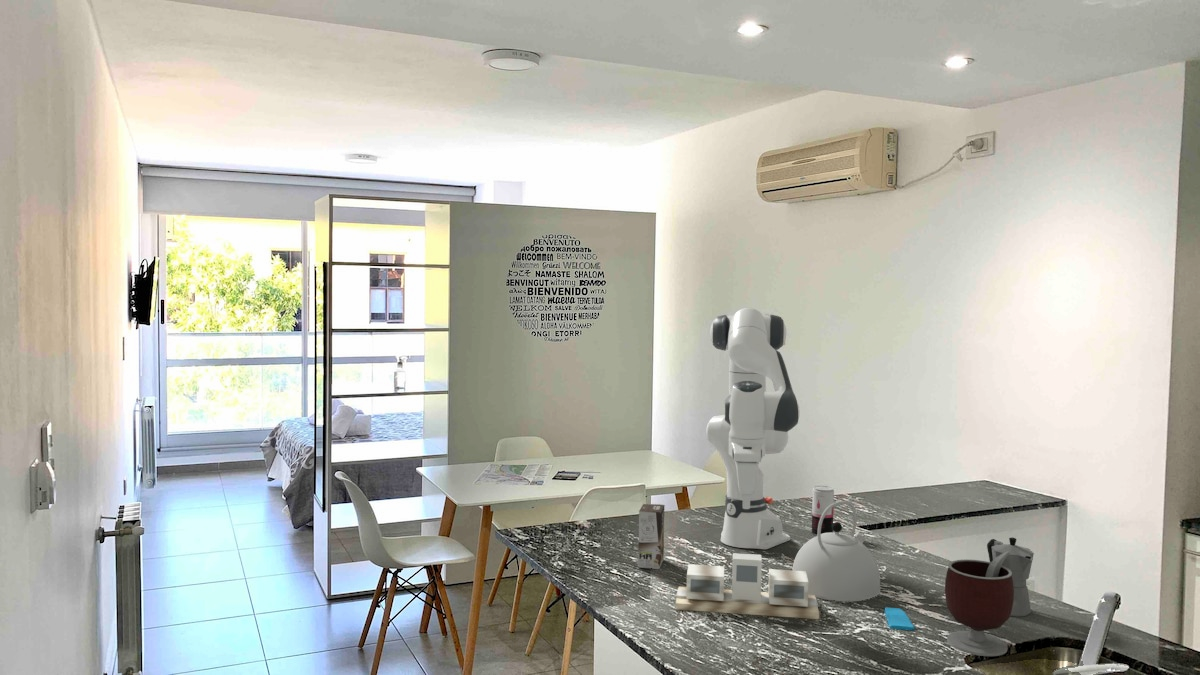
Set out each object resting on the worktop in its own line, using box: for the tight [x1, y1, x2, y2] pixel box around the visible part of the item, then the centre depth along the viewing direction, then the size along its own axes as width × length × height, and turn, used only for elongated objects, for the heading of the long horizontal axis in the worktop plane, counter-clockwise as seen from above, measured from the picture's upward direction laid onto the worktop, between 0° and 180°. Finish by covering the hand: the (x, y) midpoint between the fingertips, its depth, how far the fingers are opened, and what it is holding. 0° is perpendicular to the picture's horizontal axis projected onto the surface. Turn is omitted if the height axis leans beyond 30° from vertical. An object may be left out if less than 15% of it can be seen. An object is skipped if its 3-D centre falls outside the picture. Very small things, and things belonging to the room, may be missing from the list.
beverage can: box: [811, 485, 835, 537], centre depth 275 cm, size 6×7×15 cm
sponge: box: [883, 606, 916, 631], centre depth 205 cm, size 2×12×6 cm
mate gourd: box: [944, 551, 1014, 657], centre depth 191 cm, size 16×14×20 cm
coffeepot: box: [986, 537, 1035, 618], centre depth 213 cm, size 15×9×18 cm, turn 13°
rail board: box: [674, 563, 820, 620], centre depth 213 cm, size 34×12×8 cm, turn 81°
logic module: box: [731, 552, 763, 601], centre depth 213 cm, size 5×7×10 cm, turn 81°
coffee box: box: [637, 503, 665, 570], centre depth 244 cm, size 9×6×16 cm
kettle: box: [792, 500, 881, 602], centre depth 228 cm, size 25×23×22 cm
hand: (745, 503), depth 213 cm, fingers open, 8 cm apart
